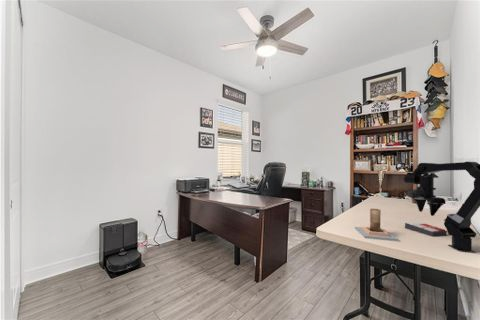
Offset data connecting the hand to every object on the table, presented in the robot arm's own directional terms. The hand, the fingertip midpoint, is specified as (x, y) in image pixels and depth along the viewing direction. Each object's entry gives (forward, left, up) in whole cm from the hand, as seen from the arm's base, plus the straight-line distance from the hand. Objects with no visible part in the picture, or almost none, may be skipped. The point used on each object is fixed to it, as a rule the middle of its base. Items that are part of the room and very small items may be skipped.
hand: (426, 213), depth 108 cm
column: (-4, +26, -12) cm, 29 cm away
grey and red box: (+11, -6, -14) cm, 19 cm away
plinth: (-4, +26, -13) cm, 30 cm away
